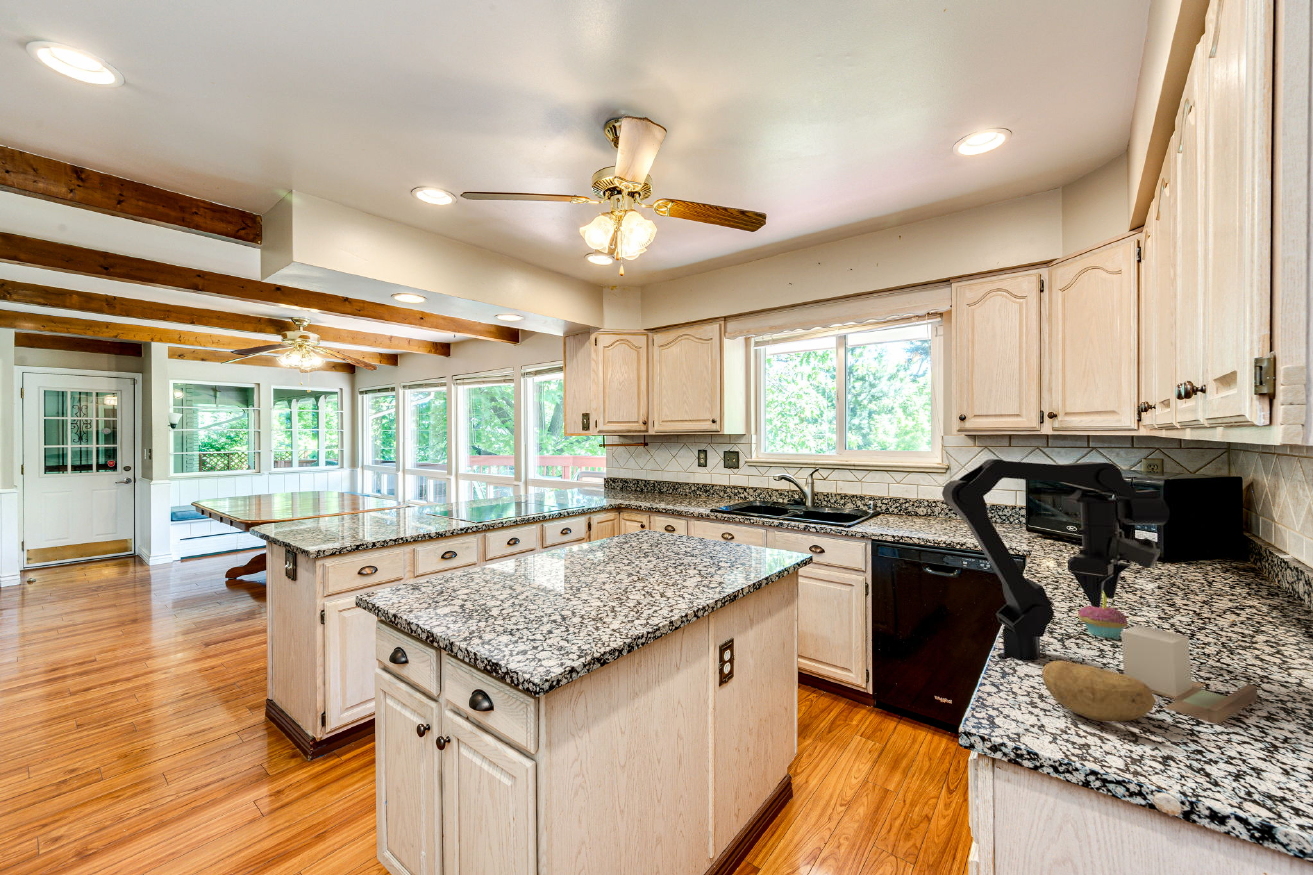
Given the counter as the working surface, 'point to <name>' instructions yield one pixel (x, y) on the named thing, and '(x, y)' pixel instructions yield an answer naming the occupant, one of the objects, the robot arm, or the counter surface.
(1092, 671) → the potato
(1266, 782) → the counter surface
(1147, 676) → the block
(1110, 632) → the cupcake
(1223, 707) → the lane board
